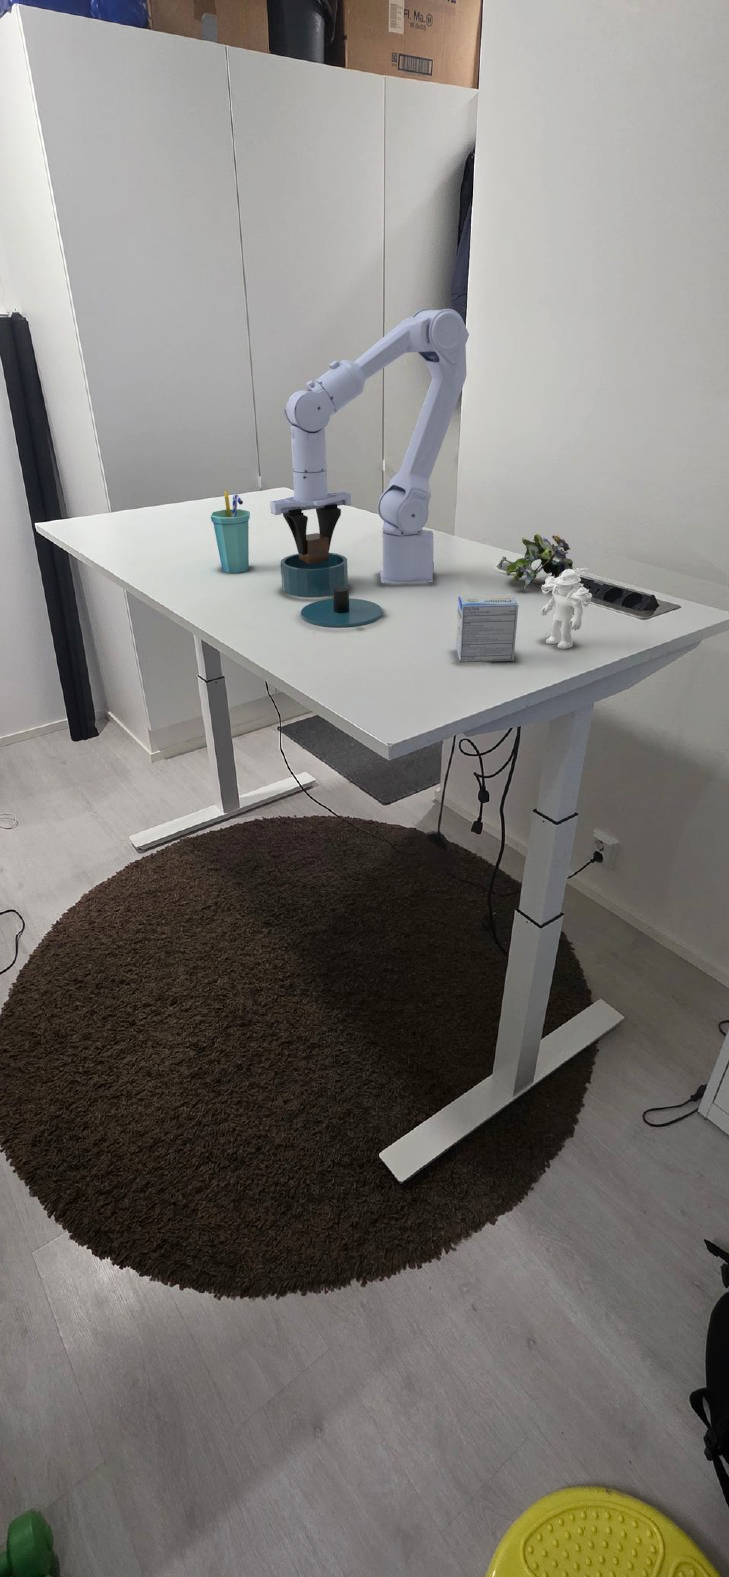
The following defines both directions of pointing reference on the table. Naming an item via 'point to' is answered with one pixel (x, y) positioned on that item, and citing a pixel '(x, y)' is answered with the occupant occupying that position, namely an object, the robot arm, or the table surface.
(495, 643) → the medicine box
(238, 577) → the table surface
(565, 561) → the passion flower
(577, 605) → the hat wearing toy figure
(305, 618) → the lid
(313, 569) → the pot
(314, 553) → the block
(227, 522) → the cup
